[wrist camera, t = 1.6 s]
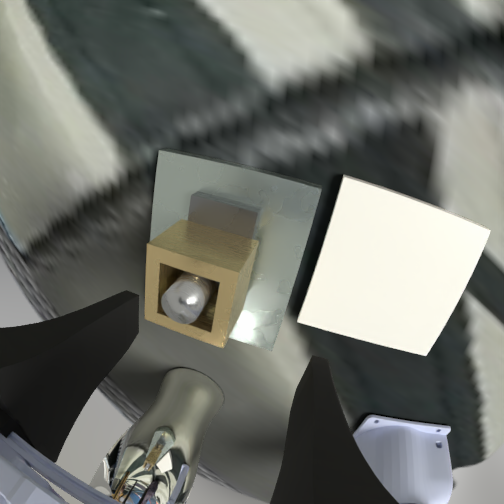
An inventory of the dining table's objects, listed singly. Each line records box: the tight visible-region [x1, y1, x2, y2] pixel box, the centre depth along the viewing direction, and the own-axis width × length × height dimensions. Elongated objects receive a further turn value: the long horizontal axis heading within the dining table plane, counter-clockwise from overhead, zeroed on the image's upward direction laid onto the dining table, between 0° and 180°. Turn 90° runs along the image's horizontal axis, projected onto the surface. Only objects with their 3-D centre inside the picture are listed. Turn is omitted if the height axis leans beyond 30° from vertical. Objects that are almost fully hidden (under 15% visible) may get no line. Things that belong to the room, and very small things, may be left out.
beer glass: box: [89, 368, 224, 504], centre depth 21 cm, size 7×7×15 cm
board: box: [297, 174, 491, 356], centre depth 19 cm, size 10×10×1 cm
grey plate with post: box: [150, 148, 322, 351], centre depth 18 cm, size 10×12×7 cm
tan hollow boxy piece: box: [145, 219, 259, 348], centre depth 18 cm, size 5×5×4 cm
